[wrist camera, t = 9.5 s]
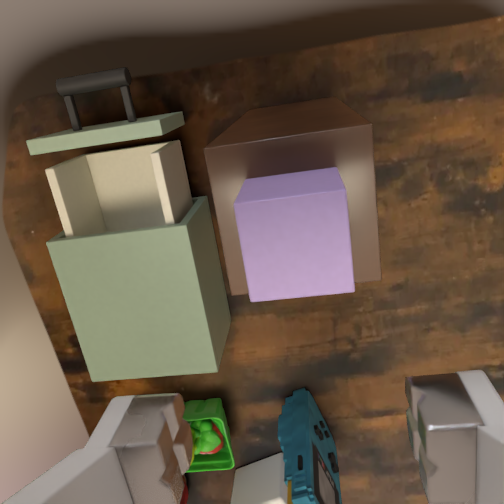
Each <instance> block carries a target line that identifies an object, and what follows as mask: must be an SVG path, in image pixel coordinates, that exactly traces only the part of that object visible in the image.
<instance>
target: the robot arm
mask: <svg viewBox="0 0 504 504" xmlns="http://www.w3.org/2000/svg"><path fill="white" fill-rule="evenodd" d="M405 394H406V397H407V400H408V403H409V408H408V409H407V410H406V414H407V426H408V433H409V439H410V443H411V448H412V451H413V454H414V458H416V459H417V460H418V461H419V469H420V478H421V481H422V484H423V487H424V490H425V494H426V497H427V500H428V503H429V504H504V402H503V401H502V399H501V398H500V396H499V395H498V393H497V391H496V390H495V388H494V387H493V385H492V384H491V382H490V380H489V379H488V377H487V376H486V374H485V372H483V371H482V370H471V371H462V372H455V373H449V374H436V375H423V376H410V377H405ZM184 411H185V404H184V401H183V398H182V396H181V395H180V394H179V393H169V394H148V395H137V396H135V395H132V396H117V397H115V398H113V399H112V400H111V402H110V403H109V405H108V407H107V409H106V410H105V412H104V414H103V416H102V417H101V419H100V421H99V423H98V424H97V426H96V428H95V430H94V431H93V433H92V435H91V437H90V438H89V440H88V442H87V444H86V445H85V447H84V449H77V450H76V451H74V452H72V453H71V454H70V455H68V456H67V457H65V458H64V459H63V460H61V461H60V462H59V463H57V464H56V465H54V466H53V467H52V468H50V469H49V470H47V471H46V472H45V473H43V474H42V475H40V476H39V477H38V478H36V479H35V480H33V481H32V482H31V483H29V484H28V485H27V486H25V487H24V488H23V489H21V490H20V491H18V492H17V493H15V494H14V495H13V496H11V497H10V498H8V499H7V500H6V501H4V502H3V503H2V504H180V501H181V497H182V493H183V490H184V486H185V485H184V482H183V478H182V475H183V474H184V473H185V472H186V471H187V470H188V469H189V468H190V464H191V460H192V450H193V440H192V432H191V428H190V424H189V423H188V422H187V421H186V420H184V419H183V415H184Z"/></svg>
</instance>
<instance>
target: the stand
mask: <svg viewBox="0 0 504 504" xmlns="http://www.w3.org/2000/svg"><path fill="white" fill-rule="evenodd" d="M204 154H205V159H206V164H207V169H208V175H209V180H210V185H211V190H212V196H213V201H214V206H215V211H216V217H217V222H218V227H219V233H220V238H221V243H222V248H223V254H224V259H225V264H226V269H227V275H228V280H229V285H230V290H231V295H242V294H249V291H248V285H247V280H246V274H245V268H244V262H243V257H242V251H241V245H240V240H239V234H238V228H237V223H236V217H235V211H234V202H235V200H236V198H237V196H238V194H239V192H240V189H241V187H242V185H243V183H244V181H245V180H246V179H251V178H258V177H266V176H273V175H280V174H288V173H295V172H303V171H310V170H317V169H325V168H332V167H337V169H338V171H339V173H340V176H341V178H342V181H343V183H344V186H345V188H346V191H347V203H348V214H349V226H350V238H351V249H352V261H353V273H354V283H362V282H372V281H381V280H382V274H381V258H380V242H379V226H378V210H377V194H376V178H375V162H374V146H373V129H372V124H371V123H370V122H369V121H367V120H366V119H365V118H363V117H362V116H360V115H359V114H358V113H356V112H355V111H354V110H352V109H351V108H350V107H348V106H347V105H345V104H344V103H343V102H341V101H340V100H339V99H337V98H336V97H328V98H321V99H315V100H308V101H302V102H296V103H289V104H283V105H277V106H270V107H264V108H257V109H251V110H249V111H247V112H246V113H245V114H244V115H243V116H242V117H240V118H239V119H238V120H237V121H236V122H234V123H233V124H232V125H231V126H230V127H229V128H227V129H226V130H225V131H224V132H223V133H221V134H220V135H219V136H218V137H217V138H216V139H214V140H213V141H212V142H211V143H210V144H208V145H207V146H206V147H205V148H204Z"/></svg>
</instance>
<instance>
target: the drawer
mask: <svg viewBox="0 0 504 504" xmlns="http://www.w3.org/2000/svg"><path fill="white" fill-rule="evenodd" d="M130 84H131V76H130V73H129V70H128V69H127V68H126V67H123V68H117V69H112V70H106V71H100V72H95V73H90V74H84V75H78V76H72V77H67V78H61V79H57V81H56V88H57V91H58V93H59V94H60V95H61V96H64V100H65V103H66V107H67V110H68V114H69V117H70V121H71V124H72V128H73V129H69V130H65V131H61V132H57V133H53V134H50V135H46V136H42V137H38V138H35V139H31V140H27V141H26V142H27V146H28V149H29V152H30V155H36V154H43V153H49V152H56V151H62V150H69V149H75V148H82V147H88V146H95V145H102V144H108V143H115V142H121V141H128V140H134V139H141V138H147V137H154V136H160V135H164V134H166V133H168V132H170V131H172V130H174V129H176V128H178V127H180V126H182V125H184V124H185V123H184V118H183V113H182V111H181V112H175V113H168V114H162V115H156V116H150V117H143V118H136V114H135V110H134V106H133V101H132V97H131V93H130V89H129V86H128V85H130ZM116 87H120V89H121V93H122V97H123V101H124V105H125V110H126V114H127V118H128V120H125V121H118V122H112V123H106V124H99V125H93V126H87V127H82V126H81V122H80V119H79V115H78V112H77V108H76V104H75V101H74V97H73V95H75V94H80V93H86V92H92V91H98V90H104V89H110V88H116ZM45 171H46V175H47V178H48V181H49V184H50V187H51V190H52V194H53V197H54V200H55V203H56V206H57V210H58V213H59V216H60V219H61V222H62V225H63V229H64V232H65V235H66V237H74V236H82V235H90V234H98V233H106V232H114V231H122V230H130V229H138V228H146V227H154V226H162V225H170V224H178V223H180V222H181V221H182V219H183V218H184V217H185V216H186V214H187V213H188V212H189V210H190V209H191V208H192V206H193V201H192V197H191V192H190V187H189V182H188V177H187V172H186V168H185V163H184V158H183V153H182V148H181V143H180V140H175V141H169V142H162V143H155V144H149V145H142V146H136V147H129V148H122V149H116V150H109V151H102V152H96V153H89V154H82V155H80V156H77V157H75V158H72V159H70V160H67V161H65V162H62V163H60V164H57V165H55V166H52V167H50V168H47V169H45Z"/></svg>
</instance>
